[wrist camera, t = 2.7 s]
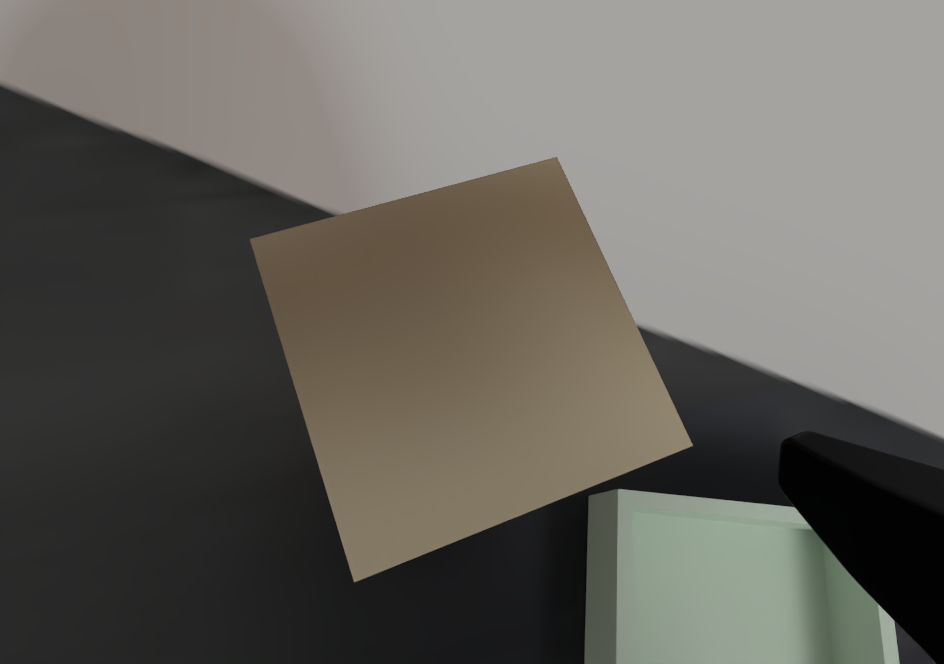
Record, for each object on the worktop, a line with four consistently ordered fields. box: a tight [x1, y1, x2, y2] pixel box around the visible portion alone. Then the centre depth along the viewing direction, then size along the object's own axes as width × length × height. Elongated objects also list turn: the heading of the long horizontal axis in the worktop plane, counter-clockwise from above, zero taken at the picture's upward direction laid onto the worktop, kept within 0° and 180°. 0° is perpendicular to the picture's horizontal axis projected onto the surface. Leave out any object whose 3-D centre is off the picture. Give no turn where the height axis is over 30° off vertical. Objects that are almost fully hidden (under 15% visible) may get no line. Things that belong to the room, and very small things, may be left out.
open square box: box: [584, 489, 899, 664], centre depth 17 cm, size 7×7×3 cm
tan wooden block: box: [250, 157, 693, 582], centre depth 13 cm, size 4×4×12 cm
